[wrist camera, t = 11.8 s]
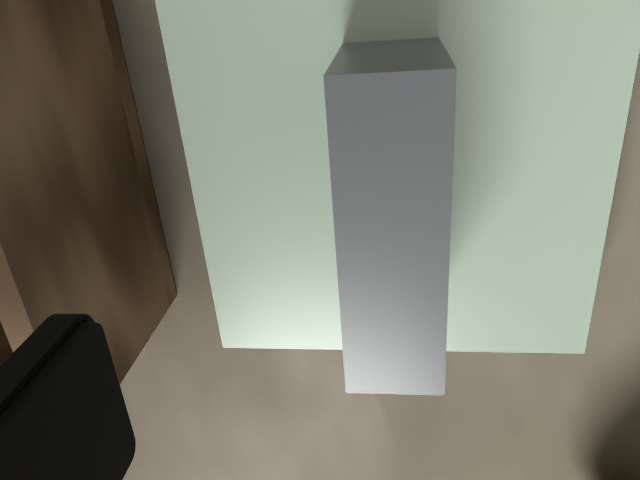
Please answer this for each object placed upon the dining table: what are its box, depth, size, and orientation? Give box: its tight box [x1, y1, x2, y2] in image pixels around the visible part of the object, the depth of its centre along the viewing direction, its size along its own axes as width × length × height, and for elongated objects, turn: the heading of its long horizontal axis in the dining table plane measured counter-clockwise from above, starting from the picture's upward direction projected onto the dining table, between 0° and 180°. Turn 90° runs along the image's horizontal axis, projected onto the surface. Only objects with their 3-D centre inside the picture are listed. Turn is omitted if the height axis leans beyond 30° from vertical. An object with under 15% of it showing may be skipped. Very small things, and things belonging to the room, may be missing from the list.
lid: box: [155, 0, 640, 395], centre depth 15 cm, size 12×12×7 cm
